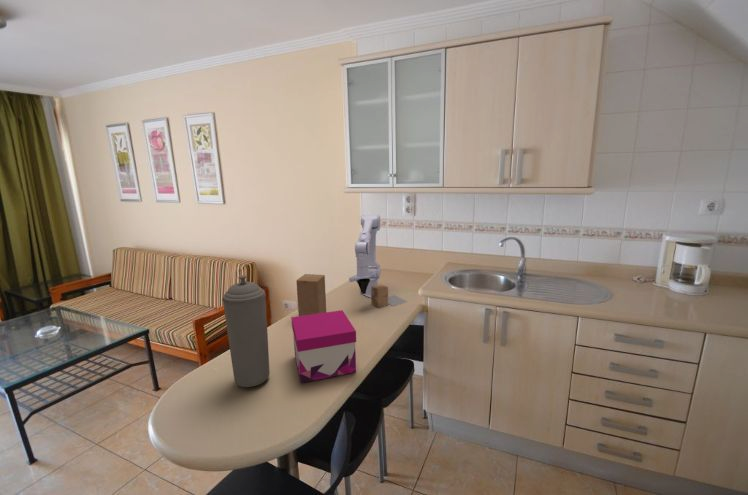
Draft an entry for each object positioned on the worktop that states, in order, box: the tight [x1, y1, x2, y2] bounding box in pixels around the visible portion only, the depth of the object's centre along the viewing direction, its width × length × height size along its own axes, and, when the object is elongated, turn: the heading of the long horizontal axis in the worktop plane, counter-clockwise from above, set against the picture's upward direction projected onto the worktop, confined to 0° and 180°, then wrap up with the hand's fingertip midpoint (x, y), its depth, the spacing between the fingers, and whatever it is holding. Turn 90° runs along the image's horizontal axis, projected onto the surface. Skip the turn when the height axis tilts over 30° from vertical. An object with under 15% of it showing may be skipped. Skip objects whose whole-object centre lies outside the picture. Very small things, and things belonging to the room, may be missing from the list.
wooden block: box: [296, 273, 327, 316], centre depth 156 cm, size 10×10×20 cm
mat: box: [388, 294, 408, 307], centre depth 178 cm, size 12×11×1 cm
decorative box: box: [290, 309, 357, 384], centre depth 118 cm, size 19×19×15 cm
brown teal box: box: [370, 283, 389, 309], centre depth 172 cm, size 6×6×10 cm
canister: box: [221, 274, 270, 388], centre depth 108 cm, size 13×13×35 cm
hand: (363, 293), depth 165 cm, fingers closed
